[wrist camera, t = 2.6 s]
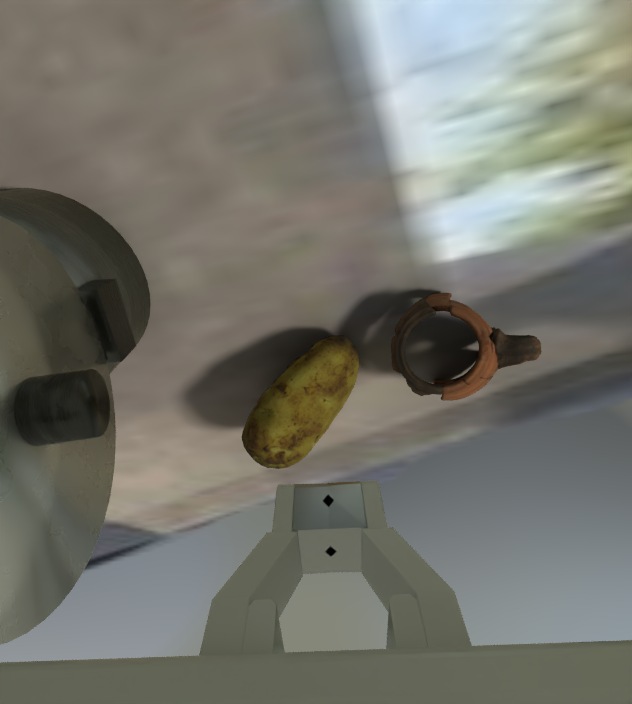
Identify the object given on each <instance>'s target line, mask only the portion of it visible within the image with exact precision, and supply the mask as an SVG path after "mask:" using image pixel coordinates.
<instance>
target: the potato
mask: <svg viewBox="0 0 632 704" xmlns="http://www.w3.org/2000/svg"><path fill="white" fill-rule="evenodd" d="M358 369H359V356H358V353H357V350H356V348H355V346H354V345H353V344H352V342H351V341H350V340H349V339H348V338H346V337H345V336H332V337H327V338H325V339H323V340H321V341H318V342H317V343H316V344H314V345H312V348H311V350H309V351H308V352H307V353H305V354H304V355H303V356H302V357H299V358H297V359H296V360H295V361H294V362H293V363H292V364H291V365H290V366H289V367H288V368H287V370H286V371H285V372H284V373H283V374H282V375H281V376H280V377H279V378H278V379H277V380H275V381H274V383H273V384H272V385H271V386H270V387H269V388H268V389H267V390H266V392H265V393H264V394H263V395H262V396H261V398H260V399H259V401H258V402H257V404H256V406H255V408H254V409H253V411H252V413H251V414H250V416H249V418H248V420H247V422H246V425H245V427H244V430H243V433H242V441H243V445H244V447H245V449H246V451H247V452H248V453H249V455H250V456H251V457H252V458H253V459H254V460H255V461H256V462H257V463H259V464H260V465H262V466H265V467H267V468H277V469H280V468H286V467H289V466H291V465H293V464H295V463H297V462H299V461H300V460H302V459H303V458H304V457H305V456H306V455H307V454H308V453H309V452H310V451H311V449H312V448H313V446H314V445H315V444H316V443H317V442H318V440H319V439H320V438H321V437H322V435H323V434H324V433H325V432H326V430H327V429H328V428H329V426H330V424H331V423H332V421H333V420H334V418H335V417H336V415H337V414H338V413H339V412H340V410H341V409H342V407H343V405H344V403H345V402H346V400H347V399H348V397H349V395H350V393H351V391H352V389H353V387H354V385H355V382H356V378H357V373H358Z"/></svg>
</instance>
